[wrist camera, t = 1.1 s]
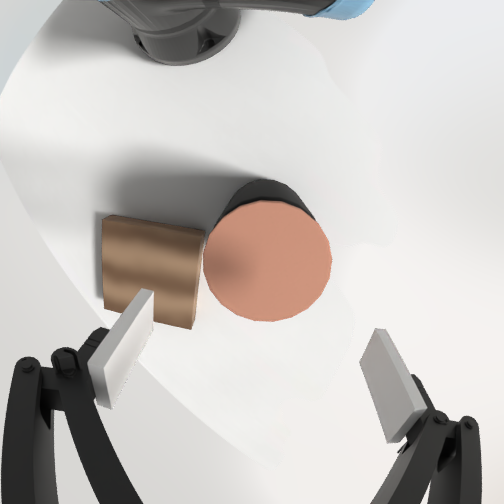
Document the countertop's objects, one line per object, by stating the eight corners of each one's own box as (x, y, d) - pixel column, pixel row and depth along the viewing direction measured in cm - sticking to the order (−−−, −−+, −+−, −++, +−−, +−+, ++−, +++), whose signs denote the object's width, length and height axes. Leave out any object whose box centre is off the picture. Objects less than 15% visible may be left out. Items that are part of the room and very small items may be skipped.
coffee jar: (221, 245, 43) (194, 309, 26) (234, 171, 39) (213, 188, 22) (294, 260, 43) (312, 331, 26) (312, 187, 39) (348, 217, 22)
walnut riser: (111, 214, 42) (102, 219, 39) (205, 230, 42) (201, 236, 39) (111, 300, 47) (104, 308, 44) (194, 319, 47) (191, 329, 44)
